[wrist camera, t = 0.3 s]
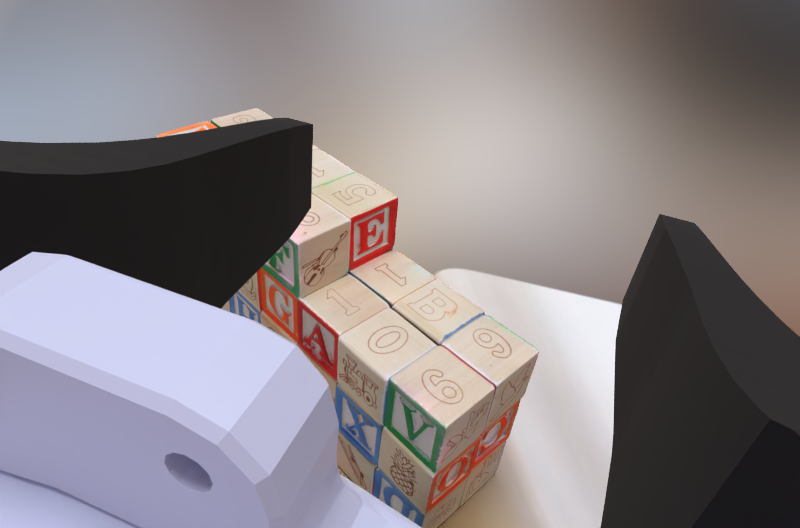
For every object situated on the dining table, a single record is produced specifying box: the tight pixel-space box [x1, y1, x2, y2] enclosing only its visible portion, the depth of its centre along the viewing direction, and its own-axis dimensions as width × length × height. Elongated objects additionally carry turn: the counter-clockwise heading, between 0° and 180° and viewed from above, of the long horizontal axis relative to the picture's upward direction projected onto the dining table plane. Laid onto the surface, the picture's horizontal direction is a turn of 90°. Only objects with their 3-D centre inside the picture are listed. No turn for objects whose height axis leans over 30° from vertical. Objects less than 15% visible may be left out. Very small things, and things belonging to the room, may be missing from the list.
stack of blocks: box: [156, 108, 539, 528], centre depth 30 cm, size 21×6×12 cm, turn 44°
